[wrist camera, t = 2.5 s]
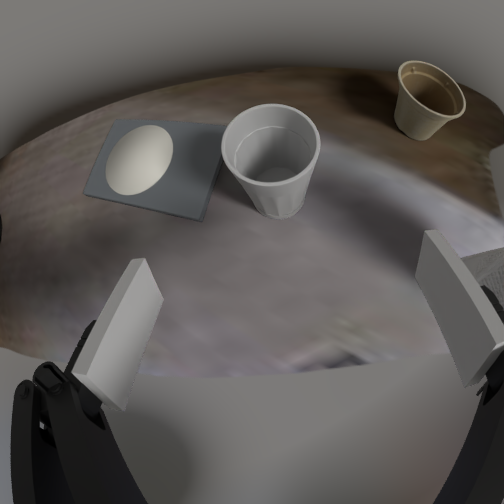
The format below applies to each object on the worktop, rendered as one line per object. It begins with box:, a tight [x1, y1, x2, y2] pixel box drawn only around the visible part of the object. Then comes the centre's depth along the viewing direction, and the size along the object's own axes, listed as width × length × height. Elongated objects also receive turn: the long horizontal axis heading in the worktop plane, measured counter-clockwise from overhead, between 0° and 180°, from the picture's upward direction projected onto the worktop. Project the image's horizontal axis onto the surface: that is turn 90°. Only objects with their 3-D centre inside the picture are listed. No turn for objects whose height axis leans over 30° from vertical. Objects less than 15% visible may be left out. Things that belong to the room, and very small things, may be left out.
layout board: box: [83, 120, 228, 222], centre depth 36 cm, size 20×13×1 cm, turn 74°
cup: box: [221, 104, 320, 220], centre depth 27 cm, size 8×8×12 cm
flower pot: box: [394, 61, 466, 140], centre depth 28 cm, size 9×9×9 cm
